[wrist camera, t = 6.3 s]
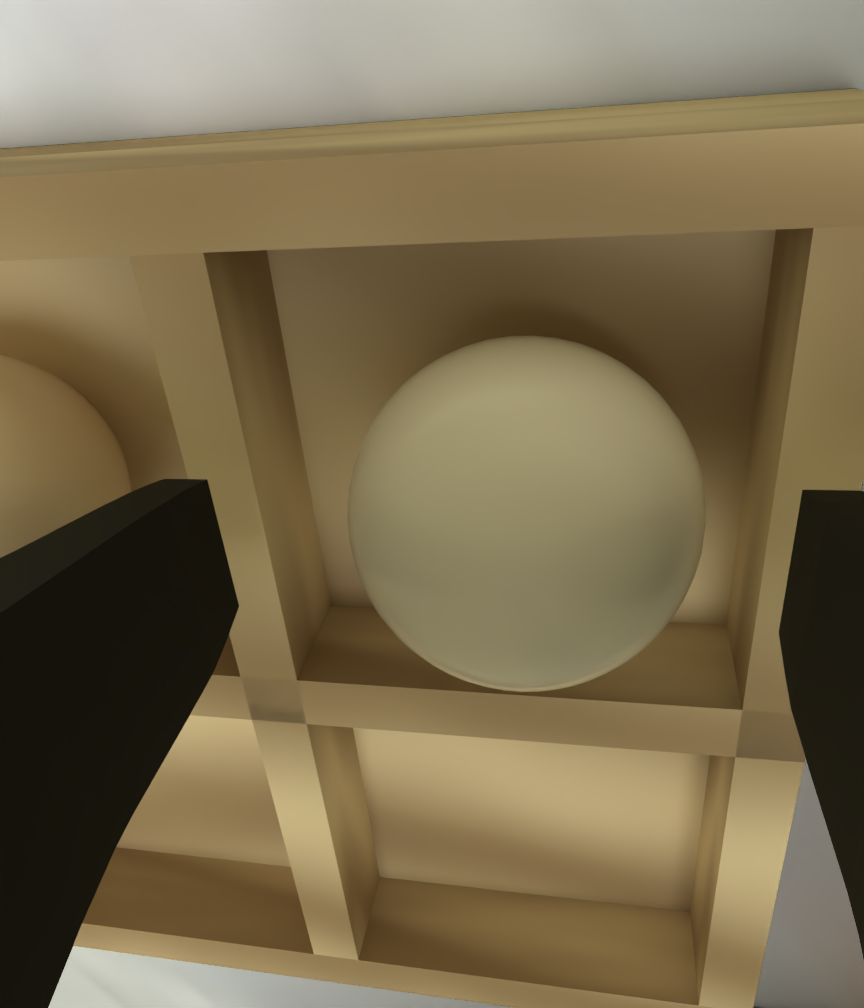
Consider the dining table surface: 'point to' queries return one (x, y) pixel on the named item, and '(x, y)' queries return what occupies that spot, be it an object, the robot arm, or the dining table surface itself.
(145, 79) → the dining table surface
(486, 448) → the white egg
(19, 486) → the tan ball
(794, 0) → the dining table surface
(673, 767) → the egg rack
